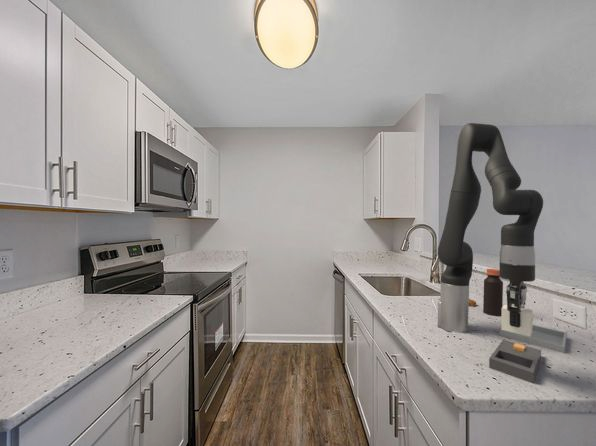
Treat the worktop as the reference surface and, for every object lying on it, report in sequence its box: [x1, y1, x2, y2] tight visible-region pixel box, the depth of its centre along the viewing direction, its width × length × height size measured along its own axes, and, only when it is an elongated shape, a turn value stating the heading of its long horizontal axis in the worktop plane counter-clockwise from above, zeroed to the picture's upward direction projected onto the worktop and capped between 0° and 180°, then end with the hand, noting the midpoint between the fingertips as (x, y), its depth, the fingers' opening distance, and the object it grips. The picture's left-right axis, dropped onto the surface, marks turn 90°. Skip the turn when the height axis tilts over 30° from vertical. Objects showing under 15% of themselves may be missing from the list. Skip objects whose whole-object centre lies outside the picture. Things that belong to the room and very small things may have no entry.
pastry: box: [469, 298, 477, 307], centre depth 128 cm, size 9×7×4 cm
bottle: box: [482, 268, 504, 317], centre depth 114 cm, size 7×7×20 cm
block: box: [501, 304, 534, 337], centre depth 71 cm, size 6×4×6 cm
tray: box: [498, 324, 568, 354], centre depth 91 cm, size 16×16×2 cm
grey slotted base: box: [488, 339, 542, 384], centre depth 74 cm, size 9×18×3 cm, turn 132°
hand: (516, 323), depth 71 cm, fingers closed on block, 4 cm apart
